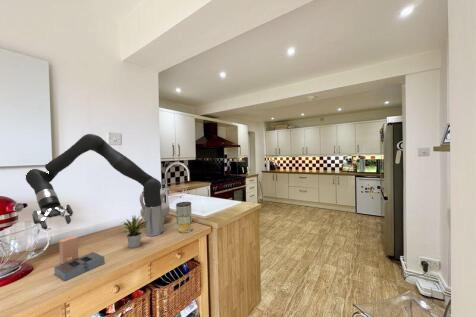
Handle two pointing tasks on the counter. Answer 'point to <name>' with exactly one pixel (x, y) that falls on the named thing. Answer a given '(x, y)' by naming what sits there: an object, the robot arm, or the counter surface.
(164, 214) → the ceramic pitcher
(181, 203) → the coffee can
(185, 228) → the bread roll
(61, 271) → the grey socket block
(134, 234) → the house plant
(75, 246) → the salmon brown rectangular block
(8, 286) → the counter surface
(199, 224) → the counter surface
